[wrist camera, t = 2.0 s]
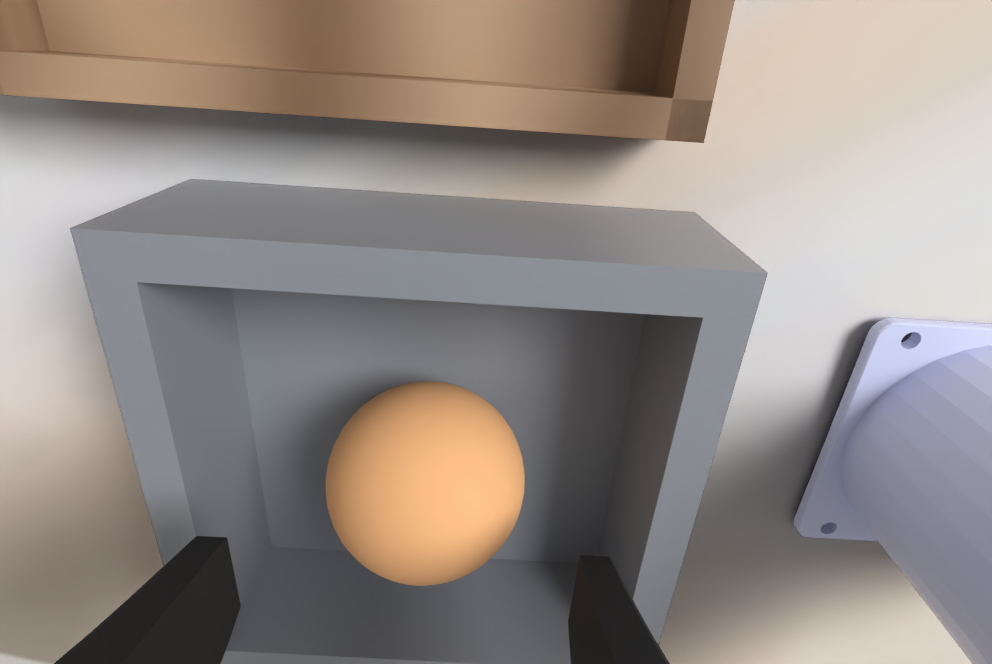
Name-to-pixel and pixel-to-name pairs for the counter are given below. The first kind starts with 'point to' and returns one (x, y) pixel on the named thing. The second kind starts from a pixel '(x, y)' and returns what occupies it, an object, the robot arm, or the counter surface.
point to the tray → (384, 59)
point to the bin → (413, 358)
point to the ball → (425, 483)
